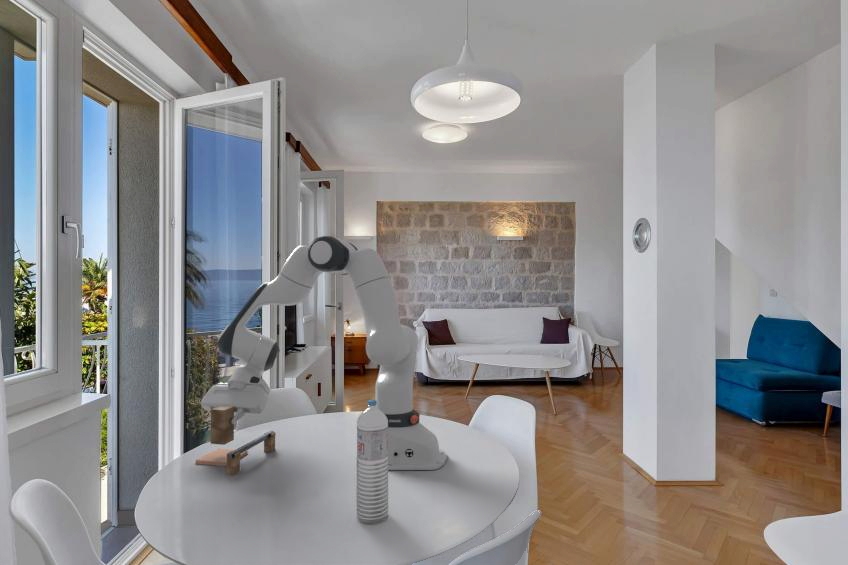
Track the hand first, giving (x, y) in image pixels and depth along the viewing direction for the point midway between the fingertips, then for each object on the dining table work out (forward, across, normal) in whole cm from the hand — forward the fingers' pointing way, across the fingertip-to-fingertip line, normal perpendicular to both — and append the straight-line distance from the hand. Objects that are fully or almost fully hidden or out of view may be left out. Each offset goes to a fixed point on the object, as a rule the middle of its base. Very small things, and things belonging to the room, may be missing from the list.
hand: (222, 423), depth 132 cm
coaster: (+7, 0, +7) cm, 10 cm away
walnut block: (+4, 0, +4) cm, 5 cm away
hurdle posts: (+7, +10, +7) cm, 14 cm away
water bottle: (+25, +55, -11) cm, 61 cm away
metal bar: (+4, +10, +4) cm, 12 cm away
